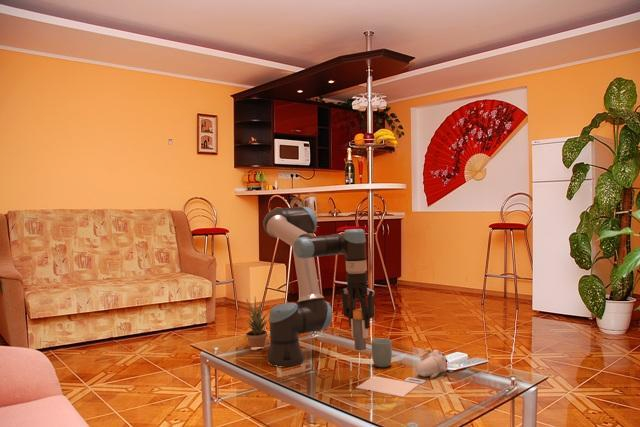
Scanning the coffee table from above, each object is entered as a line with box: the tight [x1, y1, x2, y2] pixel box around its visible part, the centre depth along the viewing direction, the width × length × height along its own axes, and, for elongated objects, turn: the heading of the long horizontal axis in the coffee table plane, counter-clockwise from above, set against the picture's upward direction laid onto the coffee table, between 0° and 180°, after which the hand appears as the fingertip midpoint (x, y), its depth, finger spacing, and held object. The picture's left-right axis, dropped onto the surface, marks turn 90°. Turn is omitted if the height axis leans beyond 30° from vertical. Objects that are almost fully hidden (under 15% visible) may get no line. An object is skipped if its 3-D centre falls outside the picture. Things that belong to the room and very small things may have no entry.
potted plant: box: [245, 297, 268, 348], centre depth 239 cm, size 10×10×25 cm
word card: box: [402, 376, 427, 385], centre depth 191 cm, size 7×4×1 cm, turn 56°
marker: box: [353, 308, 367, 351], centre depth 192 cm, size 4×4×14 cm
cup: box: [371, 337, 393, 368], centre depth 208 cm, size 8×8×10 cm
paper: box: [355, 375, 420, 398], centre depth 186 cm, size 18×13×1 cm
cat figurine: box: [415, 349, 449, 379], centre depth 197 cm, size 10×8×15 cm
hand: (359, 336), depth 192 cm, fingers closed on marker, 4 cm apart
